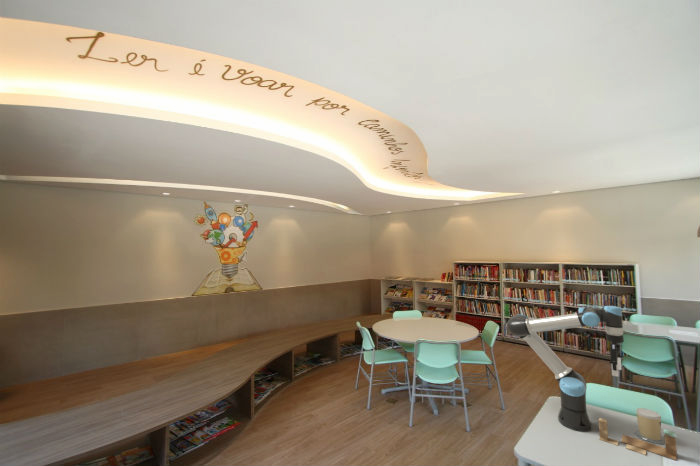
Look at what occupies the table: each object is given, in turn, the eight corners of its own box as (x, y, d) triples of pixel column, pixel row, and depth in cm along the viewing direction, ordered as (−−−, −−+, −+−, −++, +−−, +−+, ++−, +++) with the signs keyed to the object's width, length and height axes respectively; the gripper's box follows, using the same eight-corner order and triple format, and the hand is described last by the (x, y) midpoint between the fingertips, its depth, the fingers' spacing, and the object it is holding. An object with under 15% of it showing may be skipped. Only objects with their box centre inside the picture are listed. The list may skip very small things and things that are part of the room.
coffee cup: (668, 443, 151) (666, 418, 151) (645, 440, 153) (643, 416, 154) (654, 432, 160) (652, 408, 161) (633, 429, 162) (631, 406, 163)
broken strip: (599, 439, 155) (598, 420, 155) (600, 436, 158) (599, 417, 158) (645, 455, 143) (644, 434, 143) (646, 451, 145) (644, 431, 146)
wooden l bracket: (621, 442, 152) (619, 421, 153) (622, 435, 158) (621, 415, 159) (677, 460, 138) (675, 437, 139) (677, 452, 144) (675, 430, 145)
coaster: (633, 436, 157) (633, 436, 157) (635, 427, 165) (635, 426, 165) (667, 447, 148) (667, 446, 148) (667, 436, 156) (667, 436, 156)
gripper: (620, 340, 159) (623, 381, 158) (625, 331, 176) (628, 368, 175) (602, 337, 164) (604, 377, 163) (608, 328, 181) (611, 364, 180)
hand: (616, 372), depth 169 cm, fingers open, 13 cm apart
